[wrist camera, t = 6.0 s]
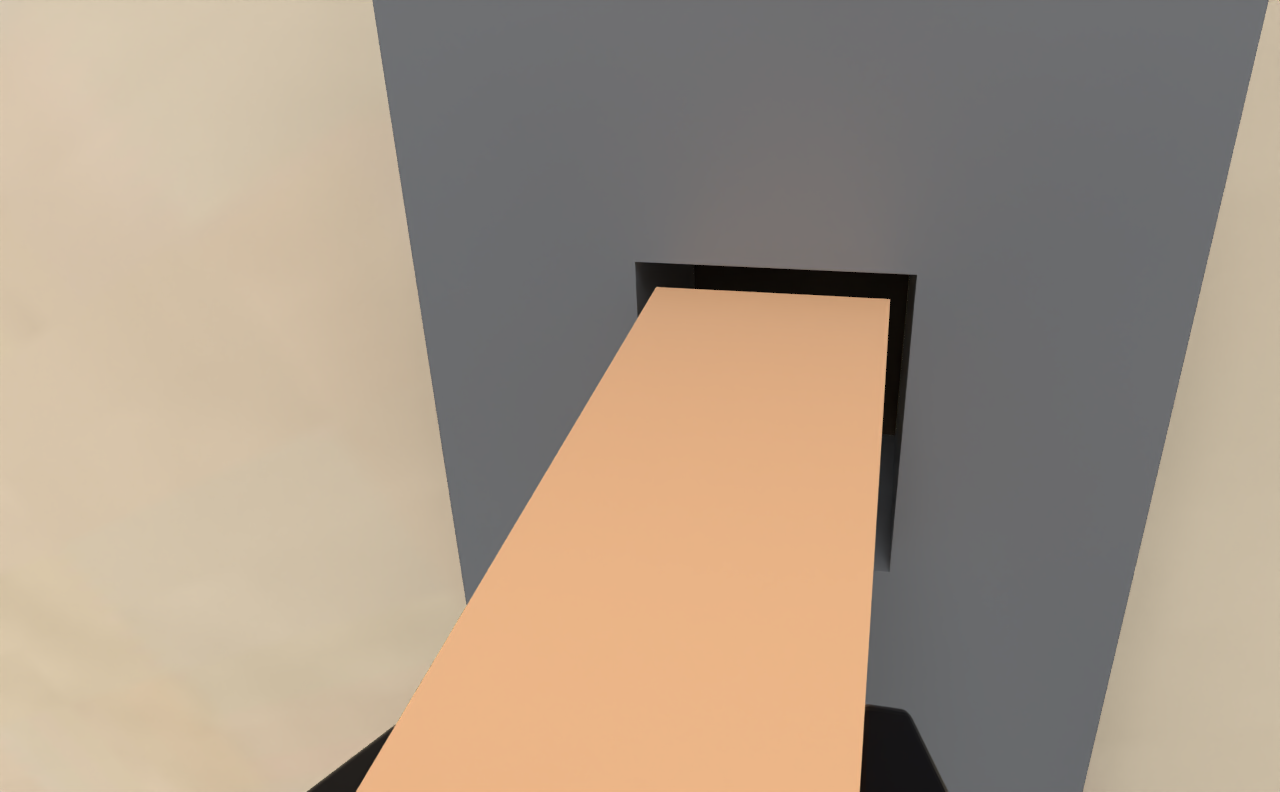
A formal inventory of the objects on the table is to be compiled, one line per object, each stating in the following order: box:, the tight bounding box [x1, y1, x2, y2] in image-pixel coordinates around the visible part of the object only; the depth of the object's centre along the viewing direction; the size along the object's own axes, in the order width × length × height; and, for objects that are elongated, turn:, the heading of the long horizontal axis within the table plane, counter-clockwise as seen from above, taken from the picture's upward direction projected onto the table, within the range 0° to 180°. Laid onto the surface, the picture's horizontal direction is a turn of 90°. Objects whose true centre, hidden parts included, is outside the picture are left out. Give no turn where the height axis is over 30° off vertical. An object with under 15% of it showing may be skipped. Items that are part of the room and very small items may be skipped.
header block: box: [373, 0, 1268, 792], centre depth 18 cm, size 24×10×4 cm, turn 2°
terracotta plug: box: [356, 287, 890, 792], centre depth 10 cm, size 4×3×10 cm
